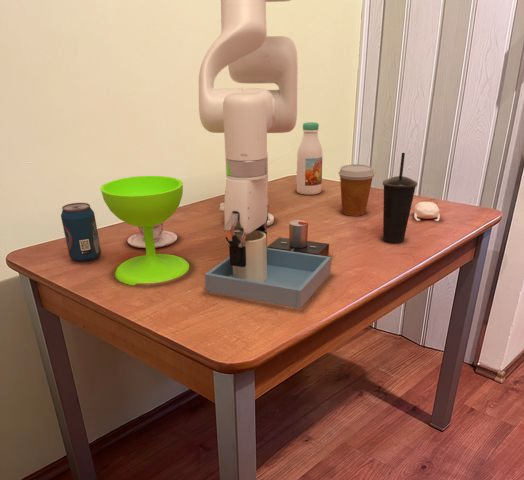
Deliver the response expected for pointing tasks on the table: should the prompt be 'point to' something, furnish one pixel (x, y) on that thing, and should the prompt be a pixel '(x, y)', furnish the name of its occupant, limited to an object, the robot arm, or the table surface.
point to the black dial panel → (311, 248)
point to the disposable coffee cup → (355, 188)
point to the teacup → (159, 236)
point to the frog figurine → (426, 211)
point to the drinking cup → (397, 205)
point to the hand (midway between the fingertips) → (249, 257)
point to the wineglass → (146, 224)
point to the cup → (253, 258)
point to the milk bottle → (309, 161)
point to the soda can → (81, 233)
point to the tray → (274, 278)
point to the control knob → (298, 233)
